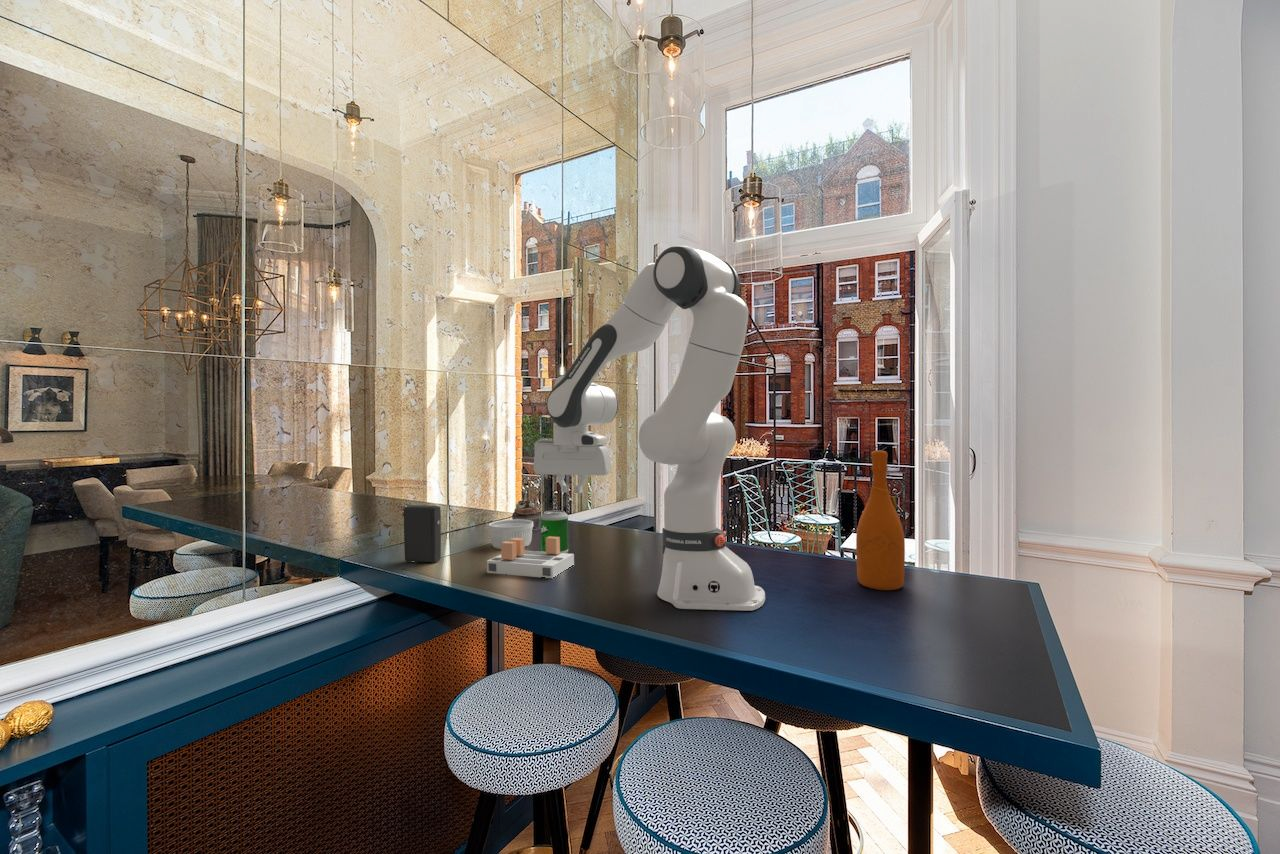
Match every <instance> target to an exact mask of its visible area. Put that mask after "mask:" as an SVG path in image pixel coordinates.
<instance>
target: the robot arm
mask: <svg viewBox="0 0 1280 854" xmlns="http://www.w3.org/2000/svg"><path fill="white" fill-rule="evenodd" d="M740 287H741V280H740V277H739V274H738V272H737V271H736V270H735V268H734V267H733V266H732V265H731V264H730V263H728V262H727V261H725V260H721V259H719V258H718V257H716V256H714V255H713V254H711V253H709V252H706V251H704V250H700V249H698V248H697V249H696V248H694V247H692V246H688V245H674V246H670V247H667V248H665V249H664V250H663V251H662V252H661V253H660V254H659V255H658V257H657V259H656V260H655V262H652V263H649V264H647V265H645V267H644V268H643V269H642V270H641V271H640V273H639V274H638V275H637V277H636V278H635V280H634V281H633V282H632V283H631V285H630V287H629V289H628V290H627V292H626V293H625V295H624V298H623V300H622V302H621V303H620V305H619V306H618V308H617V309H616V311H615V312H614V313H613V315H612V316H611V317H610V318H609V319H608V320H607V321H606V322H605V323H604V324H603V325H601V326H600V327H599V328H598V329H596V330H595V331H594V333H592V335H591V337H590V338H589V339H588V340H587V342H586V343H585V345H584V346H583V348H582V349H581V351H580V352H579V354H578V355H577V357H576V358H575V360H574V361H573V363H572V364H571V366H570V368H569V369H568V371H567V372H566V373H564V374H562V375H559V376H558V377H557V378H556V379H555V381H554V386H553V387H552V389H551V391H550V392H549V394H548V396H547V399H546V410H547V414H548V416H549V417H550V419H551V420H552V421H553V425H552V426H553V429H552V430H553V432H552V433H553V437H552V438H551V437H550V438H542V437H541V438H539V439H538V440H536V441H535V443H534V444H533V445H534V446H533V448H534V457H533V470H532V471H533V472H534V474H536V475H555V476H556V480H557V482H558V484H559V485H560V492H561V493H562V494H564V493H570V484H567V483H566V481H565V479H566V476H577V479H578V480H579V482H578V484H577V485H574V486H573V487H574V493H575V494H582V493H583V491H584V490H583V486H584V484H585V483H586V481H587V476H600V477H601V476H607V475H609V474H610V472H611V470H612V468H611V467H612V466H611V465H612V464H611V457H610V456H611V455H610V451H609V449H608V447H607V446H606V444H607V443H608V439H607V438H608V437H606V436H605V435H602V434H599V433H596V432H593V431H589V426H601V425H607V424H609V423H611V422H613V421H614V419H615V418H616V416H617V414H618V411H619V401H618V397H617V395H616V393H615V391H614V390H613V389H611V388H610V387H608V386H603V385H600V384H598V383H596V382H594V381H595V380H596V378H597V377H598V375H599V374H600V372H601V371H602V370H603V368H604V367H605V366H606V365H607V364H608V363H609V362H612V361H613V360H615V359H617V358H620V357H622V356H625V355H628V354H632V353H637V352H642V351H644V350H646V349H648V348H651V346H652V345H653V344H655V342H656V341H657V340H658V339H659V337H660V336H661V335H662V332H663V331H664V329H665V327H666V325H667V324H668V322H669V320H670V318H671V316H672V314H673V313H674V311H675V310H676V309H677V308H681V309H682V310H687V309H689V310H690V311H691V313H692V317H693V323H692V327H691V331H690V335H689V338H688V342H687V346H686V349H685V352H684V356H683V360H682V363H681V366H680V370H679V373H678V376H677V377H676V379H675V382H674V383H673V386H672V388H671V389H670V391H669V392H668V395H666V397H665V400H664V401H663V402H662V404H660V406H659V407H658V408H657V409H656V410H655V411H654V412H653V413H652V414H651V415H649V416H648V417H646V418H645V419H644V420H643V422H642V424H641V425H640V428H639V431H638V444H639V447H640V448H639V449H640V450H641V452H642V454H643V455H644V456H645V458H647V460H649V461H651V462H654V463H659V464H663V465H667V466H668V465H669V466H674V465H677V467H676V471H675V475H674V477H673V478H672V480H671V482H670V483H669V484H668V485H667V487H666V488H665V490H664V494H663V523H664V524H663V525H664V527H662V531H661V550H662V555H663V557H662V558H663V561H662V566H661V567H662V569H661V570H662V571H661V575H660V576H661V577H660V582H659V585H658V589H657V592H656V595H657V597H658V598H659V599H661V600H663V601H665V602H667V603H670V604H671V605H673V606H674V607H675V608H676V609H681V610H711V611H714V610H715V611H716V610H717V611H746V612H747V611H751V612H752V611H755V610H758V609H759V608H760V607H763V605H764V604H765V602H766V592H765V590H764V589H763V588H762V587H761V586H760V585H755V581H754V580H755V579H754V575H753V571H752V569H751V566H749V564H748V562H746V561H745V560H743V559H742V558H741V557H739V555H737V554H736V553H734V552H733V551H732V550H730V549H729V548H728V547H727V531H726V530H724V531H723V530H721V529H720V528H718V527H717V497H718V495H717V494H718V486H719V482H720V478H721V475H722V471H723V467H724V464H725V461H726V459H727V457H728V455H729V454H730V453H731V451H732V450H733V449H734V447H735V445H736V440H737V434H736V429H735V426H734V424H733V422H732V421H731V420H730V419H729V418H728V417H726V416H723V415H721V414H718V413H716V412H713V411H714V409H715V408H716V407H717V405H718V404H719V403H720V402H721V401H722V400H723V399H724V398H726V397H727V396H728V395H729V393H730V392H731V389H732V386H733V383H734V379H735V376H736V373H737V369H738V366H739V363H740V360H741V355H742V353H743V349H744V345H745V342H746V341H745V340H746V337H747V330H748V322H749V308H748V307H749V306H748V305H747V303H746V302H745V301H744V300H743V299H742V298H741V297H739V296H738V295H739V293H740Z"/></svg>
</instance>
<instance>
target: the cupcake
mask: <svg viewBox="0 0 1280 854" xmlns="http://www.w3.org/2000/svg"><path fill="white" fill-rule="evenodd" d="M535 505H536V504H535V503H534V502H532V501H531V500H524V501H522V500H518V501H517V502H516V504H515V509H514V510H513V513H512V514H511V517H512V519H511V520H517V519H519V520H530V521H533V525H534V526H533V529H536V528H538V529H539V525H540V521H541V514H540V513H539V509H538V508H537V507H536V506H535ZM533 529H532V530H533Z"/></svg>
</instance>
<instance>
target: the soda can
mask: <svg viewBox="0 0 1280 854" xmlns="http://www.w3.org/2000/svg"><path fill="white" fill-rule="evenodd" d="M549 536H552V537H560V553H568V552H569V515H568V514H567V513H566V512H565V510H557V509H556V510H547V511H544V512H543V513H542V514H541V515H540V550H541V551H540V552H546V538H547V537H549Z"/></svg>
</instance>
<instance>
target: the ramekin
mask: <svg viewBox="0 0 1280 854" xmlns="http://www.w3.org/2000/svg"><path fill="white" fill-rule="evenodd" d="M533 526H534V525H533V521H530V520H519V519H517V520H513V519H504V520H503V519H501V520H498V521H493V522H490V523H489V524H488V530H489V537H490V543H491V546H492V547H493V549H496V550H501V543H502V542H505V541H510V539H512V538H524V547H525V548H526V546H527V547H529V545H531V543H532V538H533V531H532V529H533Z"/></svg>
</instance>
